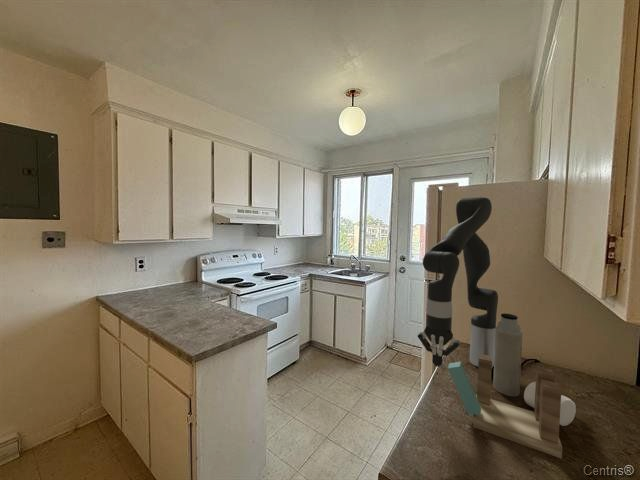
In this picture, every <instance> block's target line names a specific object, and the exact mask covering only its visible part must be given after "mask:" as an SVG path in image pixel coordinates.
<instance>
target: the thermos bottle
mask: <svg viewBox="0 0 640 480" xmlns="http://www.w3.org/2000/svg"><path fill="white" fill-rule="evenodd" d="M500 316H501V318H500V320H499V321H498V322H497V326H496V332H495V354H494V368H493V376H492V377H493V381H492V387H493V389H494V390H495V391H496V392H498V393H500V394H503V395H505V396H507V397H518V396H519V395H520V389H521V372H522V371H521V369H522V367H521V366H522V365H521V364H522V351H523V350H522V347H523V332H522V331H521V329H522V328H521V325H520V324H518V316H517V315H515V314H511V313H501V314H500Z"/></svg>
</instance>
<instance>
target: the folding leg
mask: <svg viewBox="0 0 640 480" xmlns="http://www.w3.org/2000/svg"><path fill="white" fill-rule="evenodd" d="M447 370H448V371H449V374H450V377H451V378H452V382H453V383H454V385H455V386H454V387H456V390H457V392H458V395H459V397H460V400H461V403H462V404H463V407H464V409H465V414H466V415H467V416H470V415H473V414H481V406H480V404H479V402H478V399H477V397H476V395H477V394H476V393H475V391H474V388H473V386H472V383H471V381H470V379H469V377H468V375H467V373H466V370H465V368H464V366H463V363H462V361H456V362H449V364H448V366H447ZM475 394H476V395H475Z"/></svg>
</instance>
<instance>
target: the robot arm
mask: <svg viewBox="0 0 640 480" xmlns="http://www.w3.org/2000/svg"><path fill="white" fill-rule="evenodd" d="M492 210H493V207H492V202H491V199H490V198H487V197H485V196H484V197H483V196H482V197H481V196H480V197H478V196H477V197H462V198H460V199H458V200H457V202H456V206H455V213H456V219H457V224H456V225H455V226H453V227H452V228H450V229H449V230H448V231H447V232H446V234H445V235H444V237H443V238H442V239H441V241H439V242H438V243H437V244H435V245H434V246H432V247H431V248H429V249H428V250H427V252H426V253H425V254H424V256H423V258H422V265H423V268H424V269H425V270H426V271H427V272H429V273H435V274H441V275H442V277H441V279H433V280H430V281H429V282H428V285H427V301H426V309H425V312H426V313H425V314H426V316H425V318H426V319H425V328H424V330H423V331H420V332H419V333H418V334H417V338H418V339H419V341H420V342H421V344H422V346H423V347H424V348H425V351H427V352H429V353H431V354H432V358H431V359H432V364H433V365H434V367H438V368H440V366H442V365H443V357H444V356H449V355H450V354H452V352H454V351H455V350H456V349H457V348H458V347H460V340H459V339H456V338H455V337H454V334H453V331H452V325H453V324H452V323H453V318H452V317H453V304H452V300H453V299H452V298H453V296H452V295H453V286H454V283H455V278H456V276H457V273H458V271H459V268H460V259H459V257H458V256H459V255H460V254H461V252H462V253H463V254H462V255H463V261H464V269H465V273H466V274H465V275H466V284H467V285H466V288H467V290H466V291H467V302H468V305H469V307H471V308H473V309H476V310H481V311H486V313H484V314H477V315H473V316H472V317H471V318H470V339H469V341H470V343H469V362H470V364H472V365H473V366H475V367H478V362H479V354H483V355H487V356H491V357H492V369H494V368H493V367H494V354H495V332H496V327H497V326H496V325H497V313H498V305H499V304H498V303H499V295H498V292H497V291H496V290H494V289H491V288H490V289H488V288H483V287H478V283H479V280H480V279H481V278H482V276H484V275H485V274H486V272H487V271H489V268H490V266H491V256H490V255H491V254H490V249H489V246H487V244H486V243H485V241H484V240H482V238H481V237H480V236H479V235H478V233H476V232H477V231H479V230H480V228H482V226H483V225H485V223H487V222H488V221H489V219H490V216H491V215H492ZM449 342H450V345H449V346H448V347H447V348H446V349H444V347H445V346H446V345H448V343H449ZM430 343H431V344H430Z"/></svg>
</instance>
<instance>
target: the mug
mask: <svg viewBox="0 0 640 480" xmlns="http://www.w3.org/2000/svg"><path fill="white" fill-rule="evenodd" d="M535 387H536V381H532V382H530V383H529V384H528V385H527V386H526V387H525V390H524V392H523V398H524V402H525V403H526V404H527V405H528V406H530V407H531V408H533V409H534V406H535ZM576 405H577V404H576V403H575V402H574V401H573V400H572V399H571V398H569V397H568V396H565V395H562V394H561V406H560V423H559V426H562V427H565V426H568V425H570V424H571V423H572V422H573V420H574V418H575V417H576V412H577V411H576V410H577V409H576V407H577V406H576Z"/></svg>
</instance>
